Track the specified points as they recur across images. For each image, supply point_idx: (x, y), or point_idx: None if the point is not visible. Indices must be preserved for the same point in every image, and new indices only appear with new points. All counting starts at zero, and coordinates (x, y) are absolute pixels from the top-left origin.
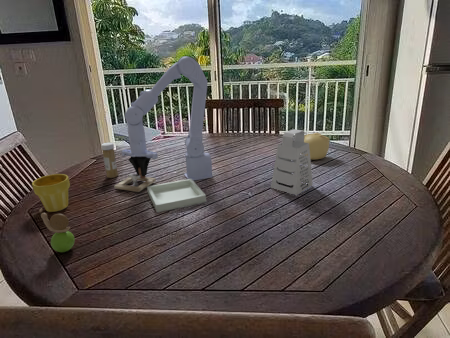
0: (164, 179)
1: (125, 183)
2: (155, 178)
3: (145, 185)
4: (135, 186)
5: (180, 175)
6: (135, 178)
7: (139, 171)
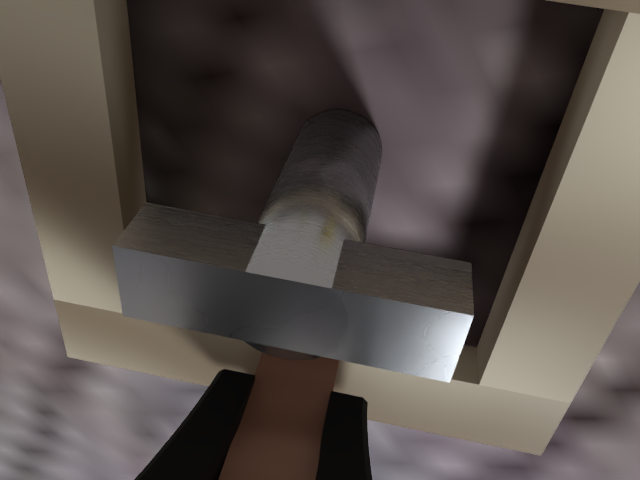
0: (86, 390)
1: (558, 150)
2: (68, 351)
3: (12, 78)
4: (316, 119)
5: (8, 467)
6: (256, 230)
7: (287, 476)
